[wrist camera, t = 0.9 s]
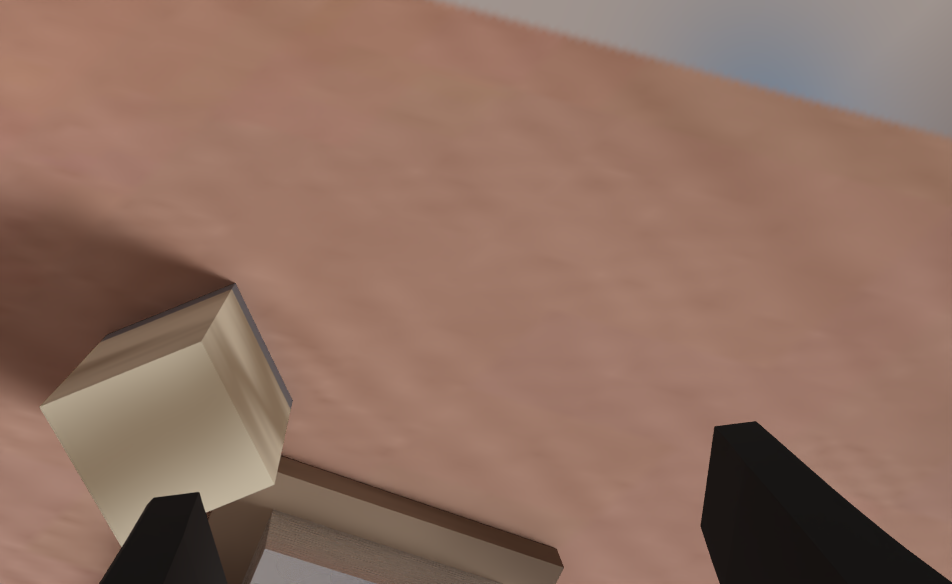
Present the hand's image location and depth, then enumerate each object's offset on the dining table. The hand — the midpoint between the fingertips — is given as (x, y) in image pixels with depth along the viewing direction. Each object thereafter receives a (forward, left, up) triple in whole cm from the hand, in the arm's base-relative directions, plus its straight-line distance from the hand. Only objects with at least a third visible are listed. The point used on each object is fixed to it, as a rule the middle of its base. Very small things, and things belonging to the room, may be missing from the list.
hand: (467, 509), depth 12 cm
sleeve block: (-6, +5, -17) cm, 18 cm away
